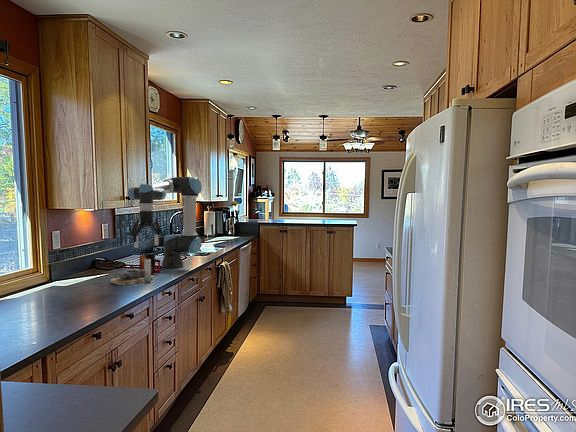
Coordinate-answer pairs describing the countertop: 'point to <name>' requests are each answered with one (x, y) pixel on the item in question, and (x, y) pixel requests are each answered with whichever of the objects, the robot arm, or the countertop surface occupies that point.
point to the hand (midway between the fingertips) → (146, 246)
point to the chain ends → (129, 277)
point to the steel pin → (147, 271)
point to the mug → (153, 260)
